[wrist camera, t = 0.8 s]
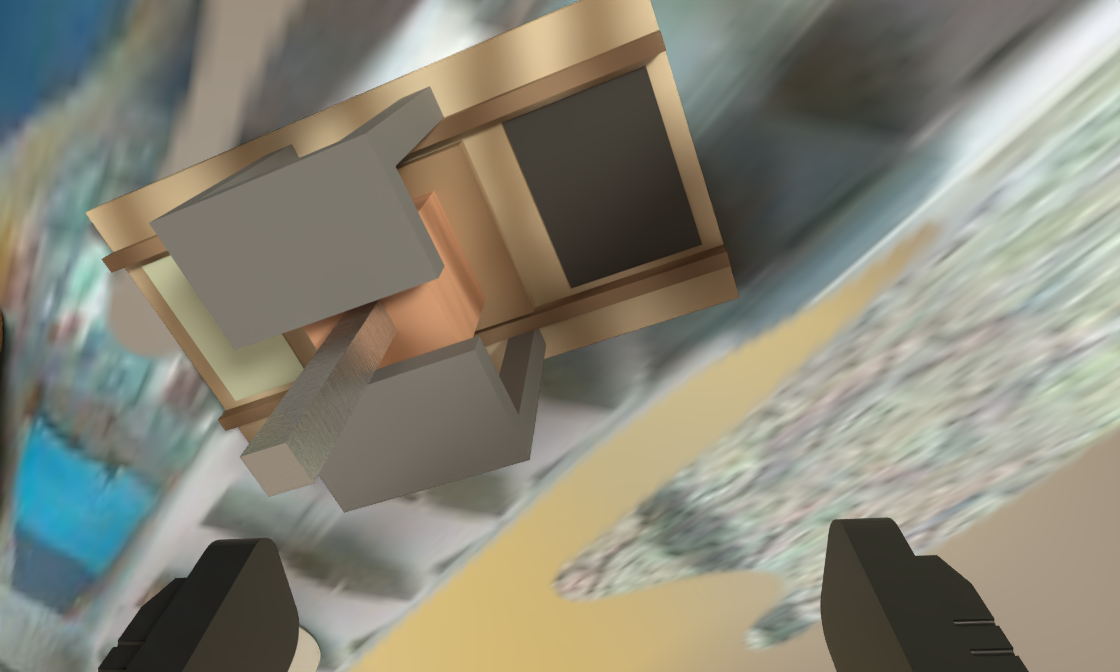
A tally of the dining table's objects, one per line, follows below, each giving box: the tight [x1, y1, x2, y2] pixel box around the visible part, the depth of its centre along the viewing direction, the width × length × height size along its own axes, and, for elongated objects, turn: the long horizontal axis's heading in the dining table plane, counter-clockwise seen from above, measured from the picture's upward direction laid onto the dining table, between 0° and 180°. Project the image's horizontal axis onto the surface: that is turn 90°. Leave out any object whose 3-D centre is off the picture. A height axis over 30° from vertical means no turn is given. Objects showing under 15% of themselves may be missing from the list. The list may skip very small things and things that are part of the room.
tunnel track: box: [86, 0, 739, 512], centre depth 33 cm, size 30×16×12 cm, turn 111°
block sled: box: [240, 140, 535, 497], centre depth 29 cm, size 10×9×17 cm
